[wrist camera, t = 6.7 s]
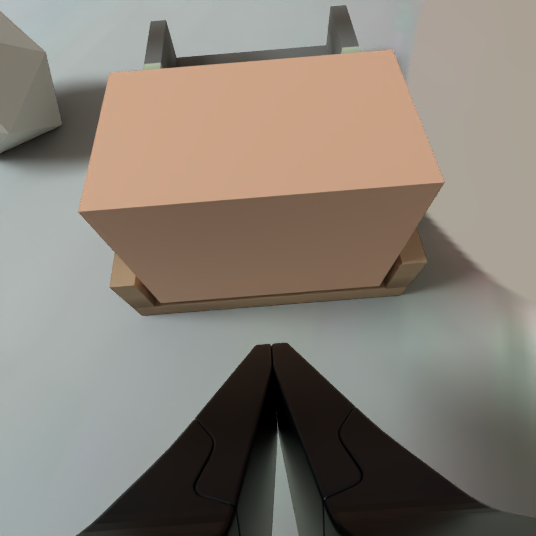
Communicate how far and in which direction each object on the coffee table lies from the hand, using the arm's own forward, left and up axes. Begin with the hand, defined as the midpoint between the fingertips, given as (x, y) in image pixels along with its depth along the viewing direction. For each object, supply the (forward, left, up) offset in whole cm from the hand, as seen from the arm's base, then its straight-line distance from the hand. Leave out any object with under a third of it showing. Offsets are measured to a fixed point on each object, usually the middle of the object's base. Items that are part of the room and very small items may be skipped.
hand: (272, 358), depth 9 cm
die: (-10, +22, -7) cm, 25 cm away
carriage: (+2, +7, -5) cm, 9 cm away
